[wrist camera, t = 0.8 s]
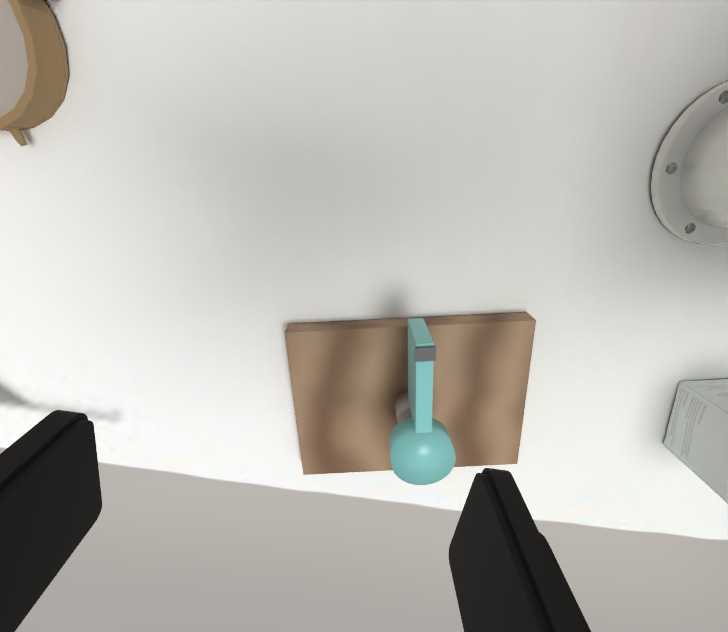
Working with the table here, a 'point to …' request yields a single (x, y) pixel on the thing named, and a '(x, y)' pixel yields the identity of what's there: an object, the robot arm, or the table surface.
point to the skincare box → (702, 431)
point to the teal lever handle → (421, 418)
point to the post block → (390, 388)
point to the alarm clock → (30, 65)
